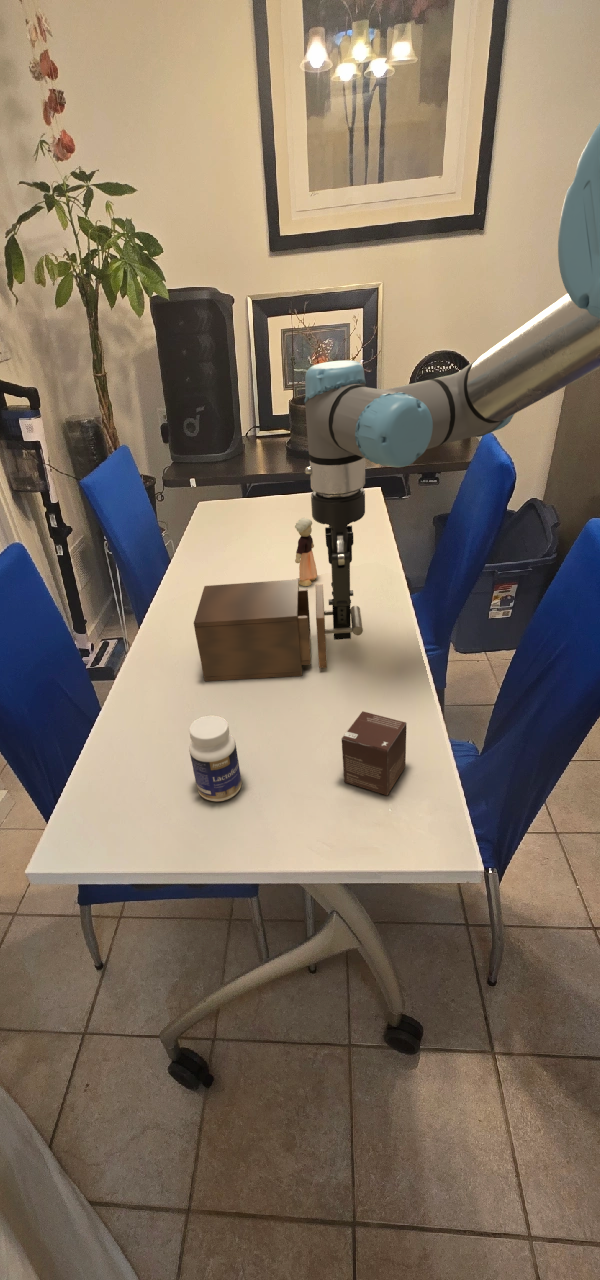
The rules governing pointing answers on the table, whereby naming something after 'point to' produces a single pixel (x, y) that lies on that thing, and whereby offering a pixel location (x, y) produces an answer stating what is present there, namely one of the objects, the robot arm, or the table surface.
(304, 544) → the grandmother figurine
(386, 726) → the box
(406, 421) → the robot arm
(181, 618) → the table surface
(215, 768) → the pill bottle
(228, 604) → the cabinet
